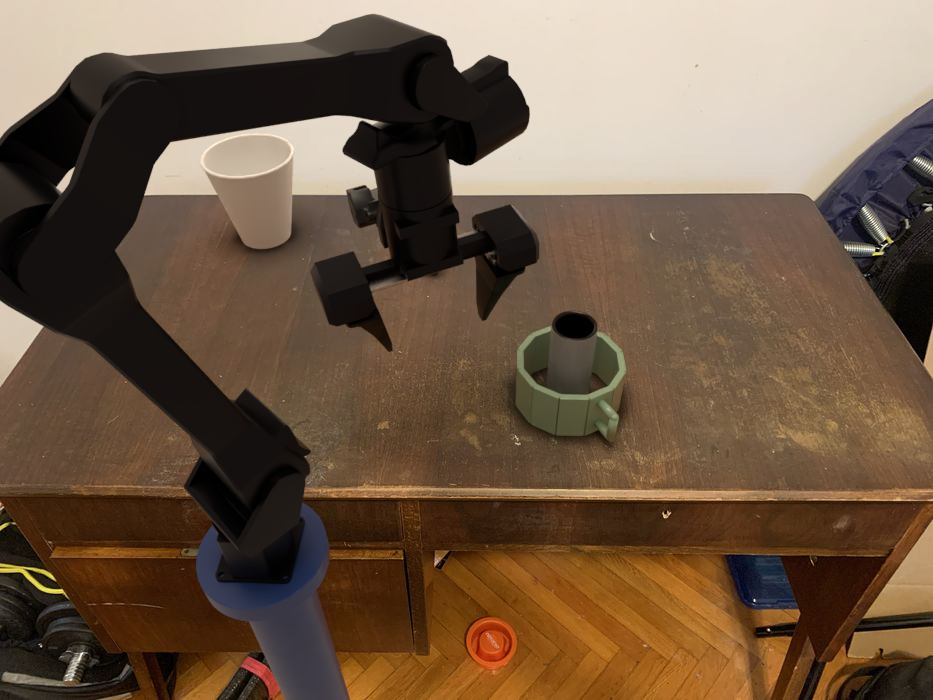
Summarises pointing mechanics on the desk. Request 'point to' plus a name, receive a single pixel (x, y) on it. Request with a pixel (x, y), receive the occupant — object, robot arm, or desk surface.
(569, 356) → the grey hollow cylinder
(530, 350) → the mug
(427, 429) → the desk surface
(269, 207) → the cup
